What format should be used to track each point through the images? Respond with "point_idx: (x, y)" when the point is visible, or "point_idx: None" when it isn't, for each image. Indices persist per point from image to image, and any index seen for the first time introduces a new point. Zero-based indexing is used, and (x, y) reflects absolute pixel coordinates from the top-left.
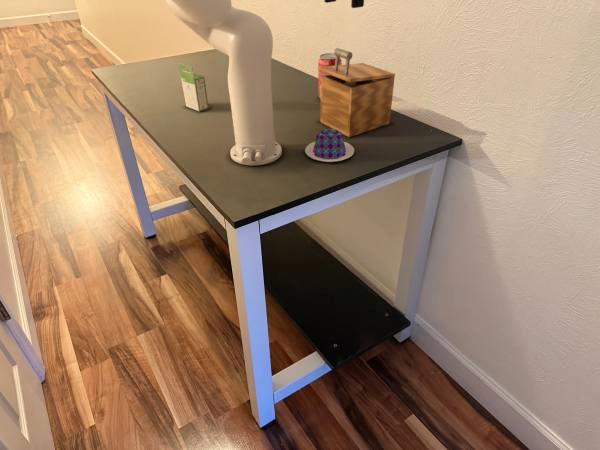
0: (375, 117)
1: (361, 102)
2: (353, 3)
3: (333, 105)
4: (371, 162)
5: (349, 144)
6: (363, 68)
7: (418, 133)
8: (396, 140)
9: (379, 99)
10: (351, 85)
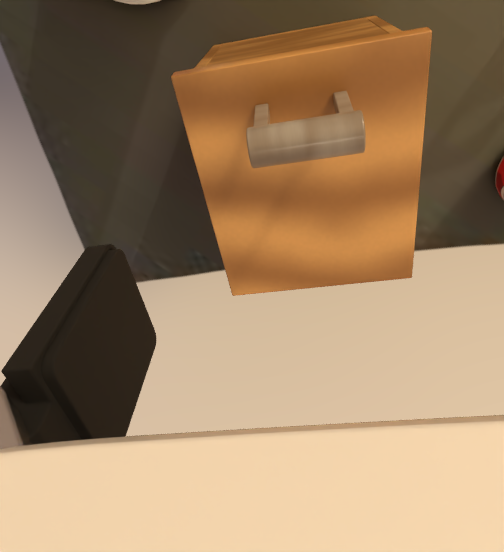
0: None
1: None
2: (76, 267)
3: (303, 41)
4: (29, 10)
5: (141, 1)
6: (330, 234)
7: (160, 234)
8: (141, 162)
9: None
10: None
